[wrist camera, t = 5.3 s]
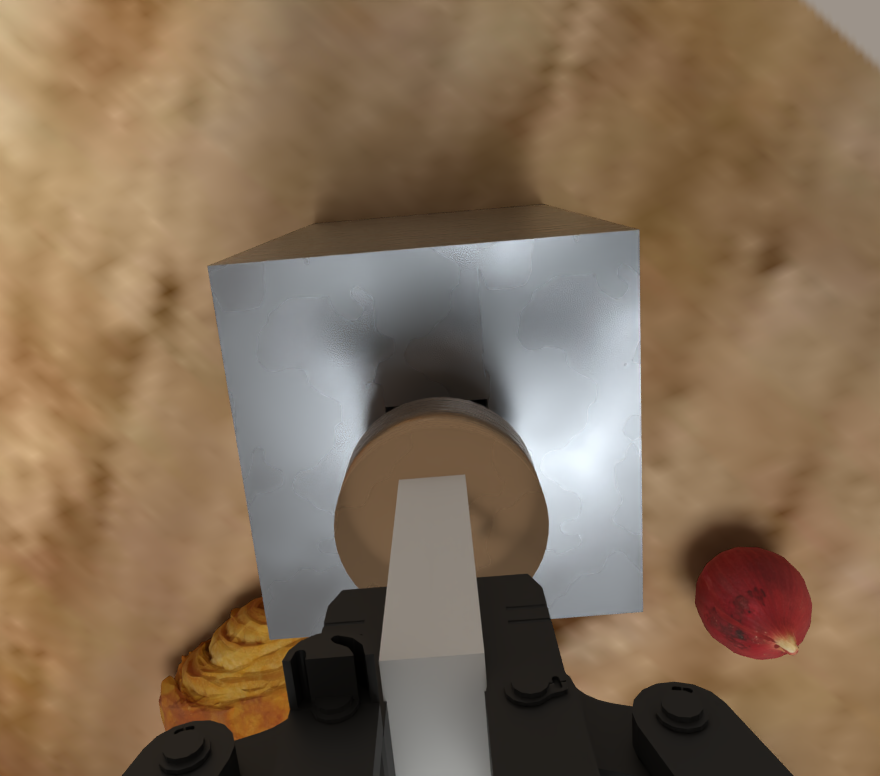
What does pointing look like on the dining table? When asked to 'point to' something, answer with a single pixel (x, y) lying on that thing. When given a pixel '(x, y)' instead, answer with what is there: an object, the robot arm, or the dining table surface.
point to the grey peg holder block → (438, 382)
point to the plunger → (433, 455)
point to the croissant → (231, 677)
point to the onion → (754, 603)
